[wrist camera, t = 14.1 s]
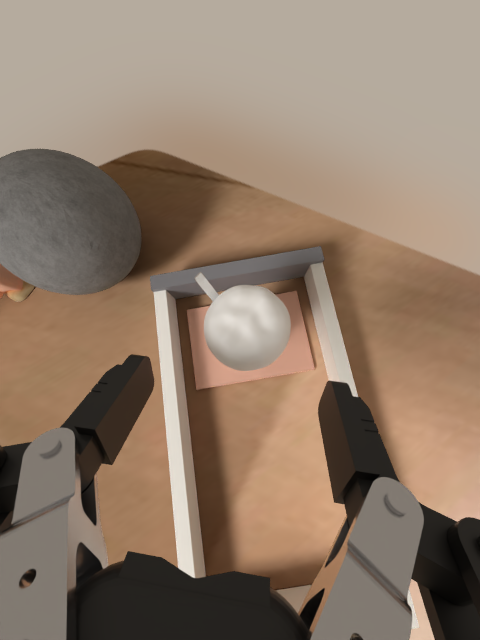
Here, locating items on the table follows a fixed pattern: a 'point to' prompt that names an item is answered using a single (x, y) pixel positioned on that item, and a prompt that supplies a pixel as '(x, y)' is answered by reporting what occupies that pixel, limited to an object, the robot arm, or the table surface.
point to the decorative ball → (65, 223)
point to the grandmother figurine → (13, 286)
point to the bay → (236, 371)
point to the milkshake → (245, 325)
